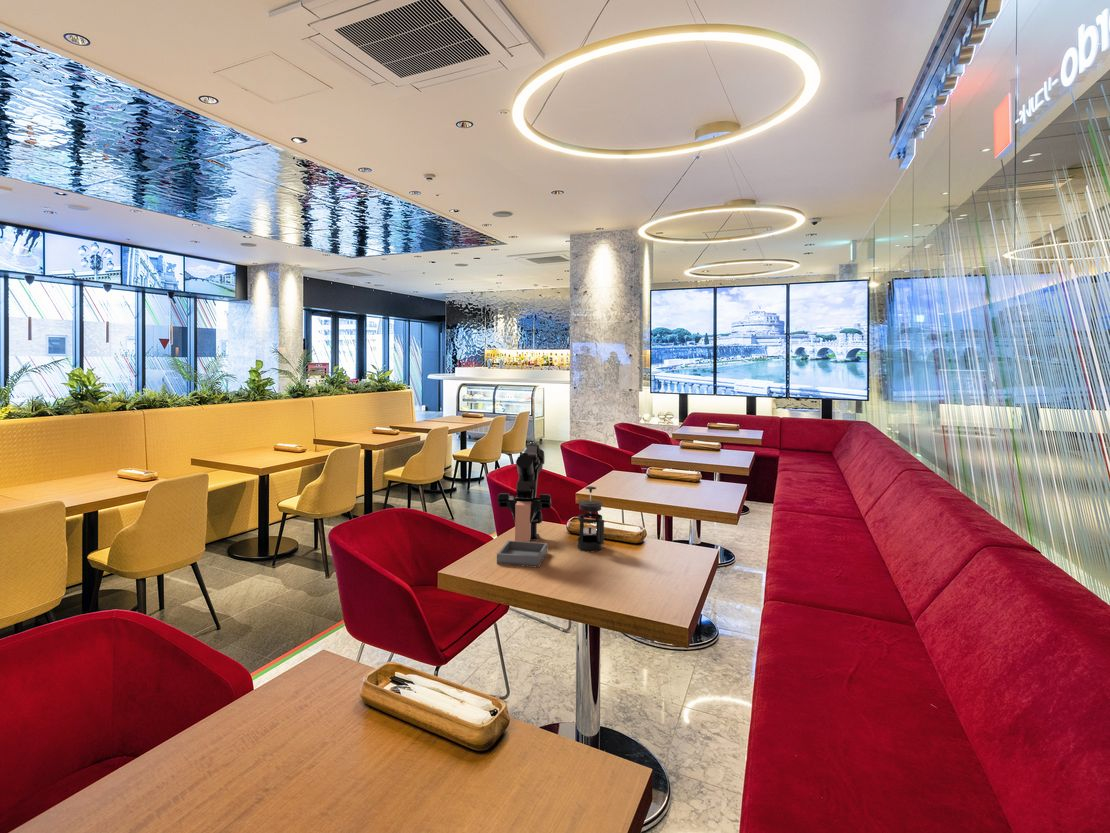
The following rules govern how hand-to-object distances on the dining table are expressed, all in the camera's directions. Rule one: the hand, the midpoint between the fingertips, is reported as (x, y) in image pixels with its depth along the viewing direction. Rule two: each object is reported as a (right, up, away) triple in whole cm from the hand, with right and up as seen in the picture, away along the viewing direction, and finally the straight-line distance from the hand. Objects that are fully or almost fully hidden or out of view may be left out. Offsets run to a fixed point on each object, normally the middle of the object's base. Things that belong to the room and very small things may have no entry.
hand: (522, 522), depth 195 cm
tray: (0, -13, +3) cm, 13 cm away
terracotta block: (0, -7, +2) cm, 7 cm away
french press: (+24, -13, +14) cm, 31 cm away
